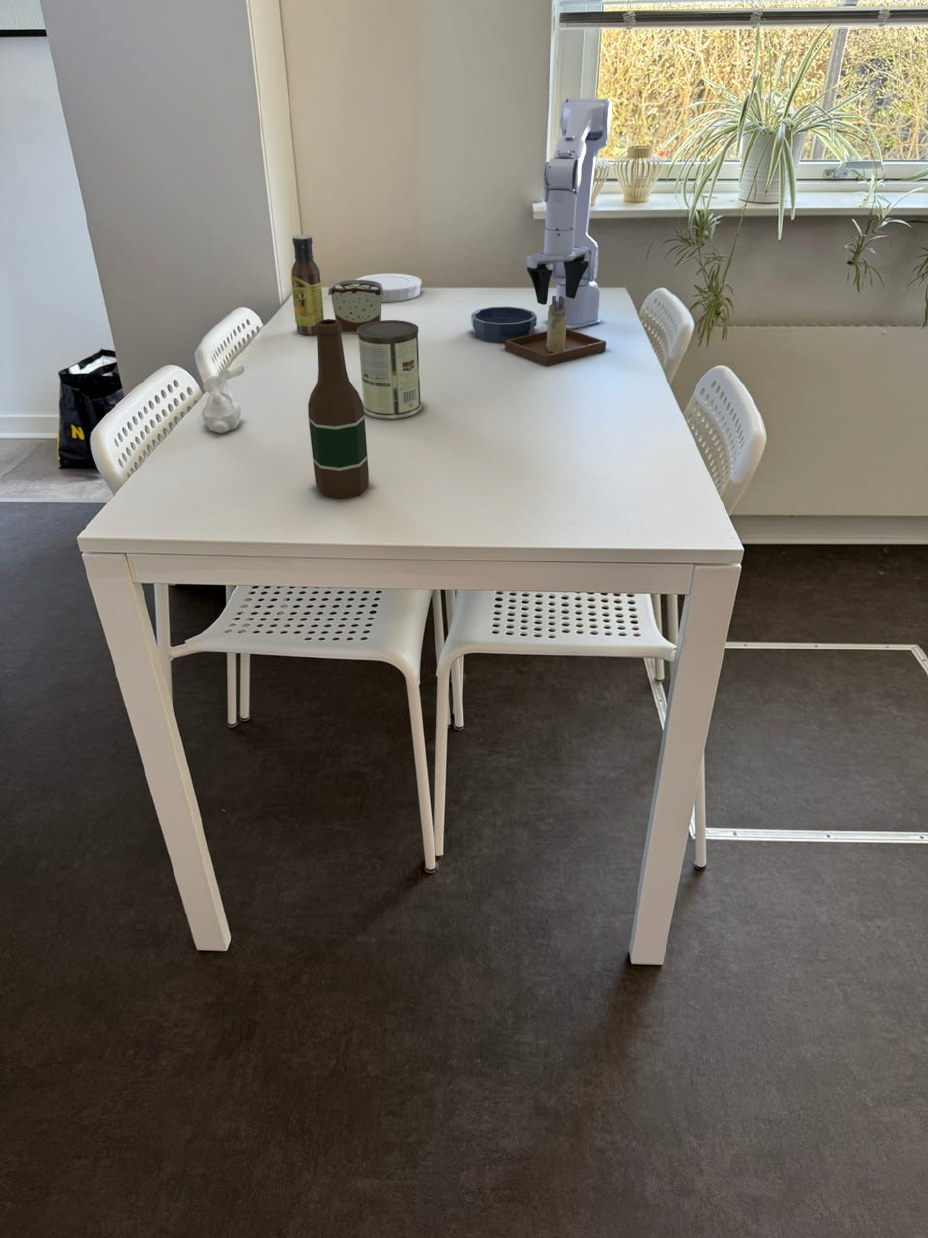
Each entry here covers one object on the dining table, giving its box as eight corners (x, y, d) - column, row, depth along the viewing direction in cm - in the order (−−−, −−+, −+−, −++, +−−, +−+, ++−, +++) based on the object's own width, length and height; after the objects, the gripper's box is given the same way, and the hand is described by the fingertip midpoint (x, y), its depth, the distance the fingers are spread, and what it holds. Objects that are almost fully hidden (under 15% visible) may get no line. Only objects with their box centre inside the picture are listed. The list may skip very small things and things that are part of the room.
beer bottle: (317, 477, 133) (300, 314, 120) (369, 475, 134) (358, 312, 120) (314, 500, 127) (296, 330, 113) (369, 498, 127) (357, 328, 114)
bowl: (508, 321, 203) (508, 303, 200) (548, 335, 193) (548, 316, 191) (459, 331, 196) (459, 313, 194) (498, 346, 187) (498, 327, 184)
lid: (330, 295, 223) (329, 282, 221) (392, 282, 234) (392, 270, 233) (373, 308, 212) (372, 295, 211) (435, 293, 224) (435, 281, 222)
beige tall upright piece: (565, 353, 181) (568, 302, 175) (547, 353, 181) (549, 303, 175) (562, 342, 187) (564, 293, 181) (544, 343, 187) (546, 293, 181)
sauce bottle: (292, 330, 197) (281, 234, 186) (317, 326, 200) (308, 231, 189) (304, 337, 193) (293, 240, 182) (330, 333, 196) (321, 236, 185)
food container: (391, 325, 200) (388, 279, 195) (386, 333, 195) (383, 286, 190) (337, 324, 201) (333, 278, 196) (331, 332, 196) (327, 285, 191)
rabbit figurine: (208, 412, 156) (199, 357, 151) (252, 409, 157) (244, 355, 152) (203, 438, 146) (192, 380, 141) (250, 435, 147) (241, 378, 142)
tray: (563, 336, 193) (563, 326, 192) (605, 350, 184) (606, 341, 183) (504, 349, 185) (504, 340, 184) (546, 366, 176) (546, 356, 175)
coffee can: (377, 395, 162) (372, 317, 155) (429, 402, 160) (427, 322, 152) (353, 415, 154) (346, 333, 146) (408, 422, 152) (404, 339, 144)
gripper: (544, 235, 165) (541, 310, 173) (601, 226, 173) (596, 298, 180) (520, 230, 170) (518, 302, 178) (577, 221, 177) (573, 291, 185)
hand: (556, 300), depth 179 cm, fingers open, 7 cm apart
